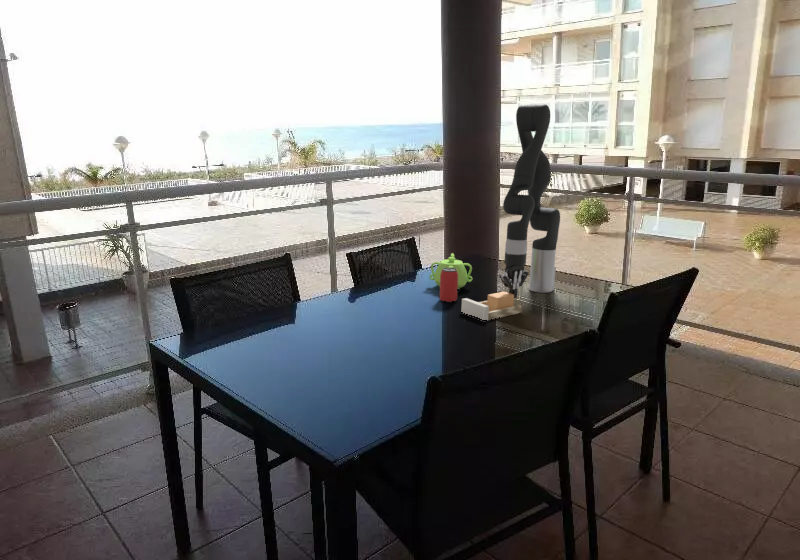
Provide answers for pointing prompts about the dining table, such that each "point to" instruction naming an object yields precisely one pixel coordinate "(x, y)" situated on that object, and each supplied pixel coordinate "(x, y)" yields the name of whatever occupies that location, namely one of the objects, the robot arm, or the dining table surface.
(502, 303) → the block
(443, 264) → the green sugar bowl
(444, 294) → the beer can
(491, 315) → the guide lane
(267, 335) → the dining table surface
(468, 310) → the stop block
